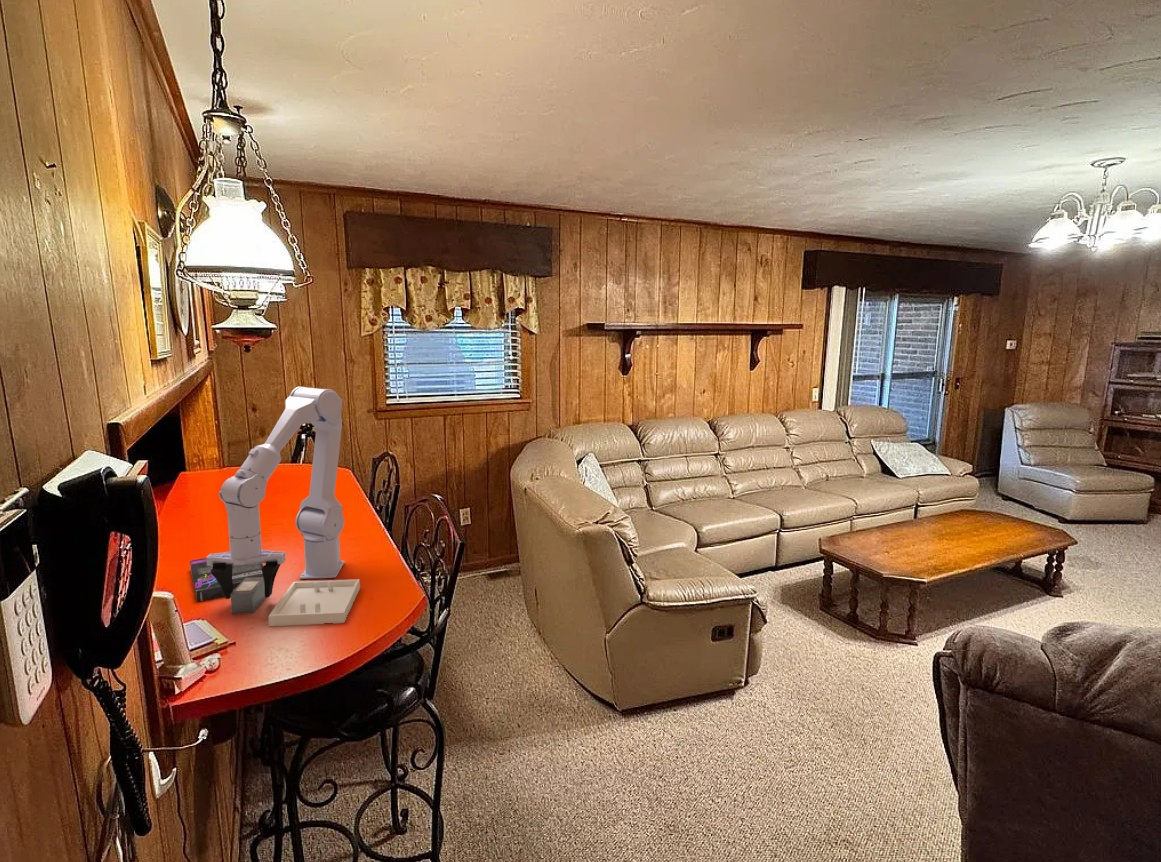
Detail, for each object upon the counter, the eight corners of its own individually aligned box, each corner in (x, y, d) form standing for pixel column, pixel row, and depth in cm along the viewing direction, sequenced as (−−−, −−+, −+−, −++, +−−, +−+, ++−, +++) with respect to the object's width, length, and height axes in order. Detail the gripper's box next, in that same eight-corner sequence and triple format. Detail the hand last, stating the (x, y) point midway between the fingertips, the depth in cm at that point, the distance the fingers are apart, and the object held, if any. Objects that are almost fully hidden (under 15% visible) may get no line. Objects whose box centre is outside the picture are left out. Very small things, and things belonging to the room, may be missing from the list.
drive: (246, 597, 130) (245, 577, 129) (266, 596, 131) (265, 576, 130) (231, 614, 122) (230, 593, 122) (253, 613, 123) (251, 592, 122)
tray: (293, 590, 134) (293, 578, 133) (359, 588, 136) (359, 576, 135) (269, 626, 118) (268, 612, 118) (344, 622, 120) (343, 608, 120)
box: (191, 574, 143) (195, 604, 127) (189, 560, 142) (194, 589, 126) (257, 561, 151) (269, 589, 135) (256, 548, 150) (268, 574, 134)
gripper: (197, 541, 119) (202, 606, 121) (276, 540, 121) (279, 603, 124) (213, 529, 126) (217, 591, 128) (287, 528, 128) (290, 588, 130)
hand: (249, 596), depth 126 cm, fingers open, 7 cm apart
